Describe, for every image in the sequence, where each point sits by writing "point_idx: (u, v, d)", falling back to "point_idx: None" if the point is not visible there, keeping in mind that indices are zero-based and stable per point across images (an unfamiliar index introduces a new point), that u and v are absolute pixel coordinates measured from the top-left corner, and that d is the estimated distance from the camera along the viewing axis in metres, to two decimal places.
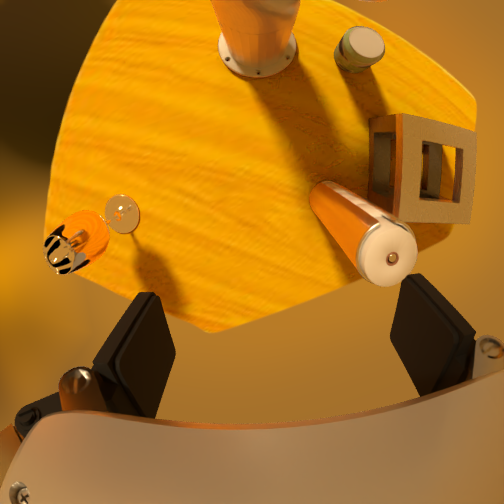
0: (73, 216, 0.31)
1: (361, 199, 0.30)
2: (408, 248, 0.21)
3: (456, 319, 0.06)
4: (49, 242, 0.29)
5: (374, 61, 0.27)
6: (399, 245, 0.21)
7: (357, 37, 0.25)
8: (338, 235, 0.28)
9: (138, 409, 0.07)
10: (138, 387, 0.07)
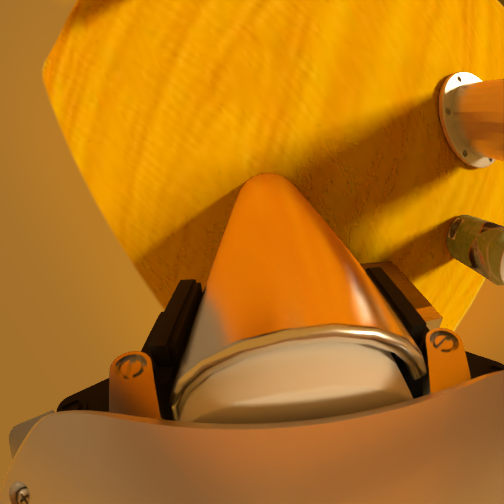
0: None
1: None
2: None
3: (407, 310, 0.07)
4: None
5: (491, 271, 0.19)
6: None
7: None
8: (275, 225, 0.10)
9: None
10: None
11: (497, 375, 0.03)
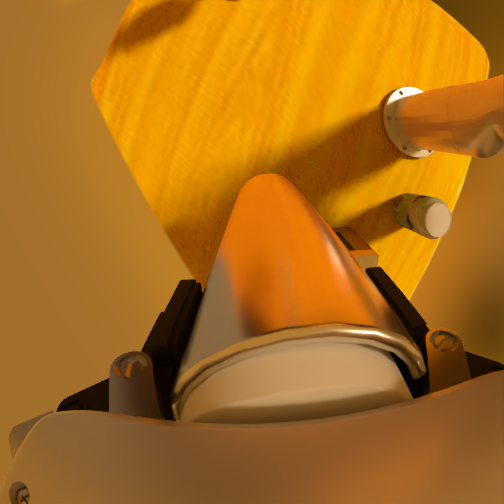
0: None
1: None
2: None
3: (407, 310, 0.07)
4: None
5: (420, 226, 0.32)
6: None
7: (441, 210, 0.30)
8: (275, 225, 0.10)
9: None
10: None
11: (497, 375, 0.03)
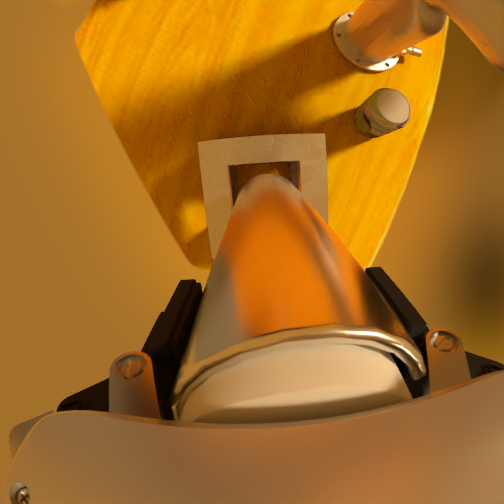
0: None
1: None
2: None
3: (407, 310, 0.07)
4: None
5: (374, 113, 0.29)
6: None
7: (396, 97, 0.27)
8: (275, 225, 0.10)
9: None
10: None
11: (497, 375, 0.03)
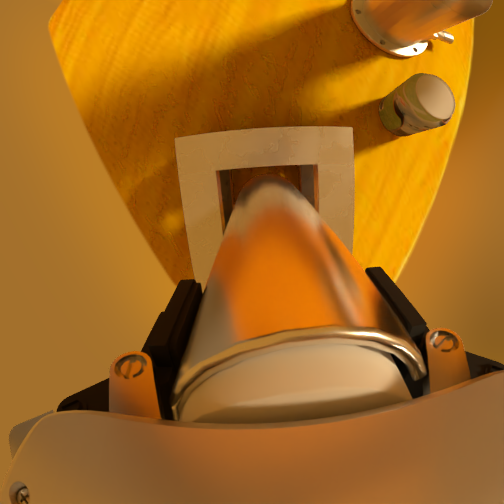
0: None
1: None
2: None
3: (407, 310, 0.07)
4: None
5: (412, 105, 0.20)
6: None
7: (438, 85, 0.18)
8: (275, 225, 0.10)
9: None
10: None
11: (497, 375, 0.03)
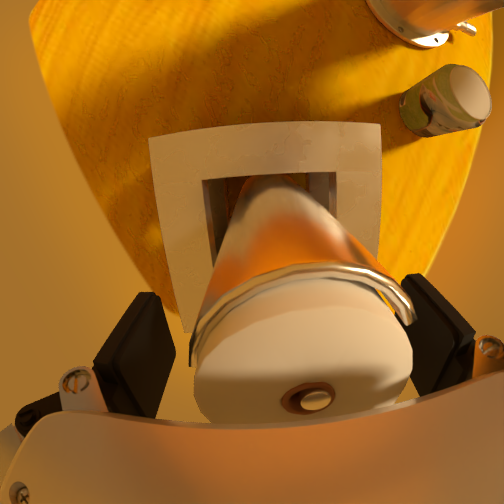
0: None
1: None
2: None
3: (456, 319, 0.06)
4: None
5: (445, 100, 0.15)
6: (352, 405, 0.06)
7: (473, 79, 0.13)
8: (279, 204, 0.11)
9: (138, 409, 0.07)
10: (138, 387, 0.07)
11: (497, 375, 0.03)
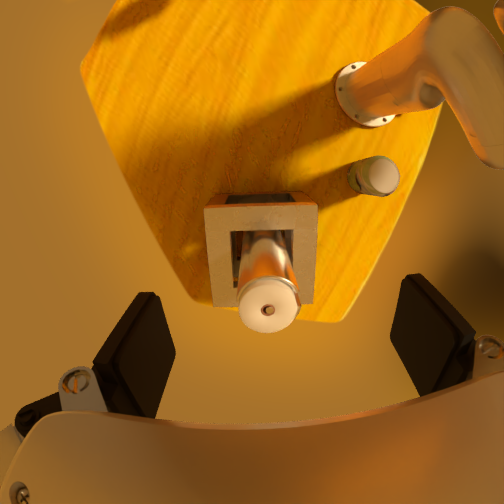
0: None
1: None
2: (277, 322, 0.26)
3: (456, 319, 0.06)
4: None
5: (365, 182, 0.35)
6: (280, 314, 0.26)
7: (387, 167, 0.33)
8: (263, 252, 0.31)
9: (138, 409, 0.07)
10: (138, 387, 0.07)
11: (497, 375, 0.03)
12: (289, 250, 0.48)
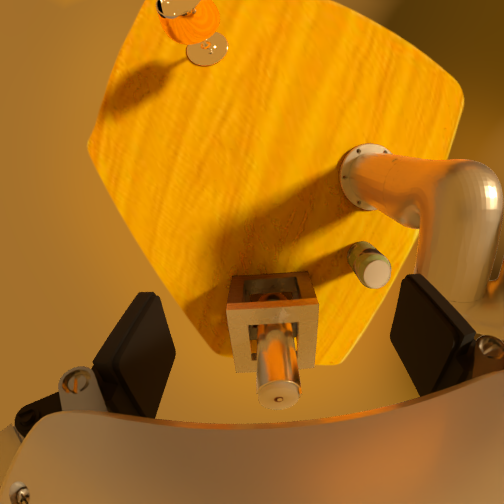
0: (216, 11, 0.24)
1: None
2: (285, 404, 0.34)
3: (456, 319, 0.06)
4: None
5: (360, 279, 0.43)
6: (287, 401, 0.34)
7: (380, 266, 0.40)
8: (275, 351, 0.39)
9: (138, 409, 0.07)
10: (138, 387, 0.07)
11: (497, 375, 0.03)
12: None
